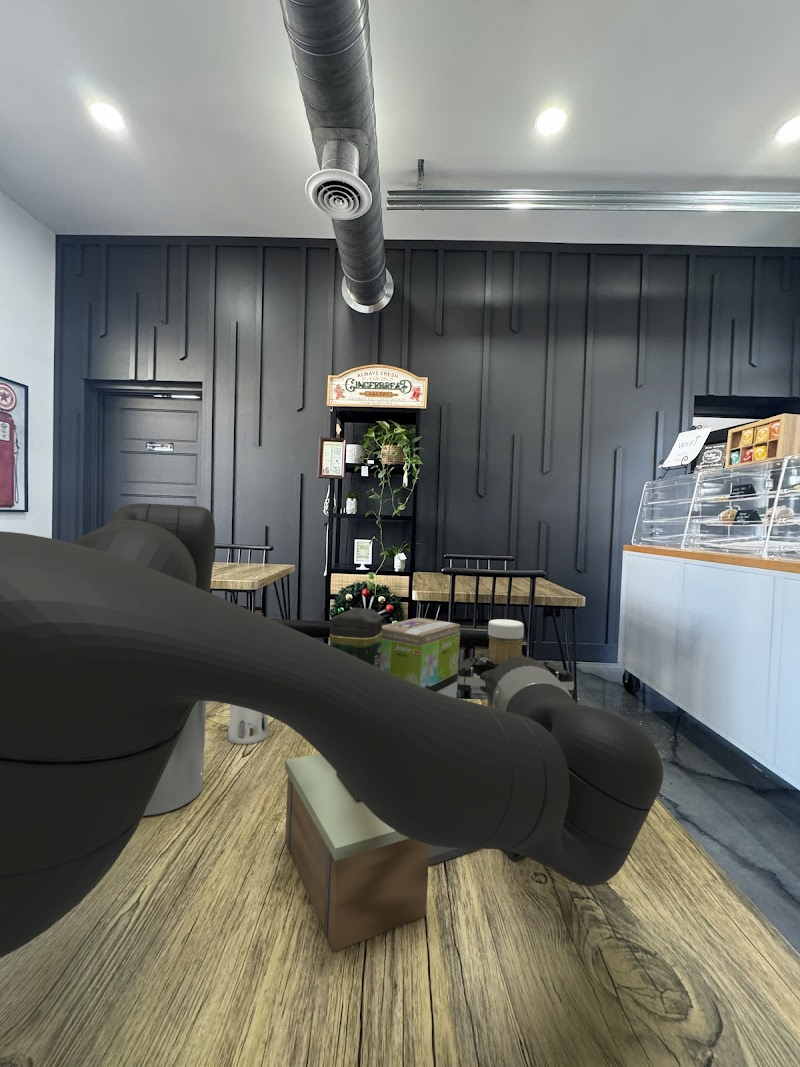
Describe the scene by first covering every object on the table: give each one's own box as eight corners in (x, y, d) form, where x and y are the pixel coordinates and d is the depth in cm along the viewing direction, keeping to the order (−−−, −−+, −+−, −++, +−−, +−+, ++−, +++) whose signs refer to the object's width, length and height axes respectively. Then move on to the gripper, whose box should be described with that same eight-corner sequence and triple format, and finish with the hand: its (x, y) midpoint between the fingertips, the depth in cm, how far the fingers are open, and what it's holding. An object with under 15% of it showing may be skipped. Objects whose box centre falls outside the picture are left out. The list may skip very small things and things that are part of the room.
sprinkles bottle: (512, 716, 65) (515, 618, 65) (526, 730, 60) (530, 624, 60) (480, 717, 64) (483, 618, 64) (492, 731, 60) (495, 624, 60)
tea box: (419, 724, 77) (423, 634, 77) (369, 710, 83) (372, 625, 83) (458, 699, 90) (461, 621, 90) (412, 688, 95) (415, 615, 96)
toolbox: (331, 956, 34) (336, 834, 34) (281, 838, 47) (285, 750, 47) (431, 916, 38) (435, 807, 38) (360, 818, 51) (364, 736, 51)
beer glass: (226, 749, 66) (231, 641, 66) (220, 730, 72) (224, 631, 72) (276, 741, 69) (281, 638, 69) (266, 723, 75) (270, 629, 75)
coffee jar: (369, 739, 71) (374, 615, 71) (318, 733, 72) (323, 612, 72) (383, 715, 80) (387, 606, 80) (338, 710, 82) (342, 603, 82)
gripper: (458, 737, 48) (448, 685, 65) (600, 745, 48) (552, 690, 65) (460, 663, 48) (450, 631, 65) (603, 670, 48) (554, 635, 65)
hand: (501, 661), depth 65 cm, fingers closed on sprinkles bottle, 4 cm apart
